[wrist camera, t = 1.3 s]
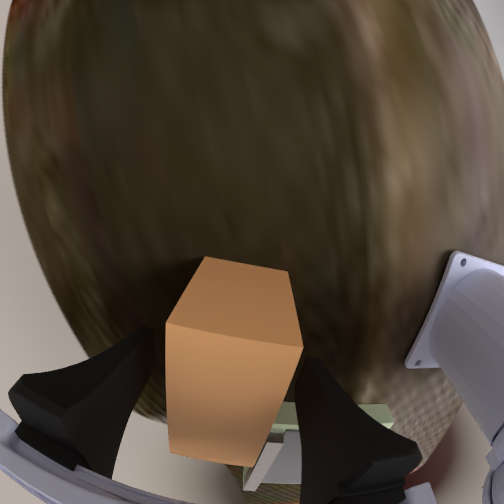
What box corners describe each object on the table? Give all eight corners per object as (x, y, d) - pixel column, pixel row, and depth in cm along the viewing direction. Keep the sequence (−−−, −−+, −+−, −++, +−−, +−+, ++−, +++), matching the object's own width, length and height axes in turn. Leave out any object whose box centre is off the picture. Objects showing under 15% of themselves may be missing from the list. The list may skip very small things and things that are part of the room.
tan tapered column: (287, 270, 13) (303, 347, 7) (254, 392, 16) (250, 471, 10) (205, 255, 13) (166, 322, 7) (192, 381, 16) (170, 457, 10)
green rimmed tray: (386, 403, 16) (399, 434, 13) (336, 465, 19) (341, 491, 16) (268, 399, 16) (269, 438, 13) (244, 463, 19) (242, 491, 16)
